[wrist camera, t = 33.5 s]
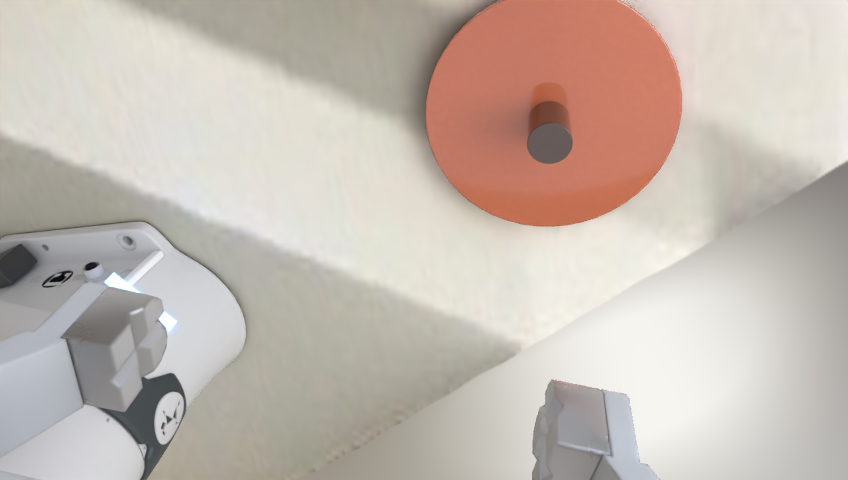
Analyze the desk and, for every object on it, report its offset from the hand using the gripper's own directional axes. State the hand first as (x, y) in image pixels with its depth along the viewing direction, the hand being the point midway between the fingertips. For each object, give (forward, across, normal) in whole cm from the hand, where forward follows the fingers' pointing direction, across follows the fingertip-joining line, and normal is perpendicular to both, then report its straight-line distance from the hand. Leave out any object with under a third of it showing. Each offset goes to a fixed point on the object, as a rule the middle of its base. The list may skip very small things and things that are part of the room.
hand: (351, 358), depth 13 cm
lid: (+28, -6, +5) cm, 30 cm away
